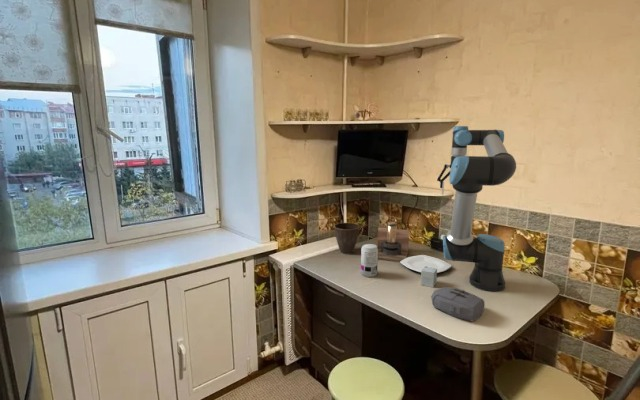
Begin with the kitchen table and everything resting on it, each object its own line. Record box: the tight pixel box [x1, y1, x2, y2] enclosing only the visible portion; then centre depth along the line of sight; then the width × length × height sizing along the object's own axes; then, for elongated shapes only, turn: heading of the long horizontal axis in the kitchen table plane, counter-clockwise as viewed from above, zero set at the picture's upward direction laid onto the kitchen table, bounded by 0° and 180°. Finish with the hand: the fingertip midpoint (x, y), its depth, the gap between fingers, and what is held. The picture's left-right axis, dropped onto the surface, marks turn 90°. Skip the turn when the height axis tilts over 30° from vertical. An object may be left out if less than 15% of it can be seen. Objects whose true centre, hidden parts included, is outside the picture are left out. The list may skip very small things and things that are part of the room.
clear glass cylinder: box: [386, 221, 398, 251], centre depth 198 cm, size 5×5×18 cm
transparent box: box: [377, 227, 410, 263], centre depth 198 cm, size 18×18×14 cm
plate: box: [399, 254, 452, 274], centre depth 182 cm, size 23×23×2 cm
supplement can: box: [360, 243, 379, 278], centre depth 173 cm, size 8×8×15 cm
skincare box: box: [420, 266, 438, 288], centre depth 162 cm, size 6×6×7 cm
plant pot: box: [333, 222, 360, 254], centre depth 205 cm, size 15×15×16 cm
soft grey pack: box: [430, 286, 486, 322], centre depth 139 cm, size 15×8×20 cm
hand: (455, 194), depth 187 cm, fingers open, 13 cm apart
